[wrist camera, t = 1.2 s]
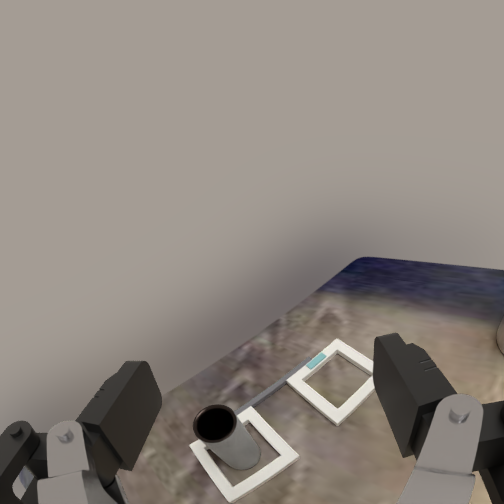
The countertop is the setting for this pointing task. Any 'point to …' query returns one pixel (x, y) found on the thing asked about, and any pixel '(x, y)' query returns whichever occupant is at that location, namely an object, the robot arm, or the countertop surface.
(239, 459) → the planter
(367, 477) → the countertop surface
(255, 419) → the socket
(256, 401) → the thin gray bar
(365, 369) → the socket
